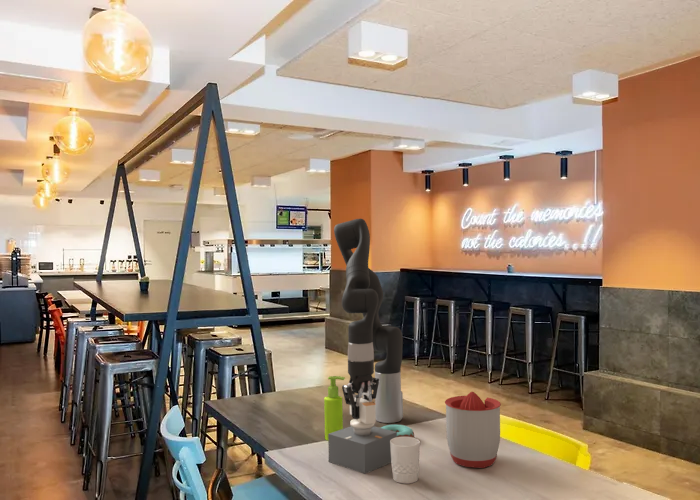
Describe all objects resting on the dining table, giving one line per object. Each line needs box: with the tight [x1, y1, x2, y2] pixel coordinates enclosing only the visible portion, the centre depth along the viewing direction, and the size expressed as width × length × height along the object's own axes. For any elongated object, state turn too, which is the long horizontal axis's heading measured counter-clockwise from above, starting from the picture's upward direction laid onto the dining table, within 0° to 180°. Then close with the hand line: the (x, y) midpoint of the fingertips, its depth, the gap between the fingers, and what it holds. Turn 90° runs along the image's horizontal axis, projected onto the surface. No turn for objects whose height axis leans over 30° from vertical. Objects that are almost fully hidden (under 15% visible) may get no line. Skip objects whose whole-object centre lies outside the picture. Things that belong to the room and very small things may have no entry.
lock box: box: [327, 425, 397, 474], centre depth 169 cm, size 14×14×10 cm
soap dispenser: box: [323, 375, 346, 441], centre depth 189 cm, size 6×7×20 cm
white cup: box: [390, 437, 421, 484], centre depth 155 cm, size 8×8×10 cm
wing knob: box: [349, 397, 377, 429], centre depth 169 cm, size 11×7×7 cm, turn 25°
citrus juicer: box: [444, 391, 501, 469], centre depth 168 cm, size 16×17×20 cm
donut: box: [380, 424, 415, 438], centre depth 186 cm, size 12×12×4 cm
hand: (361, 416), depth 169 cm, fingers closed on wing knob, 4 cm apart
